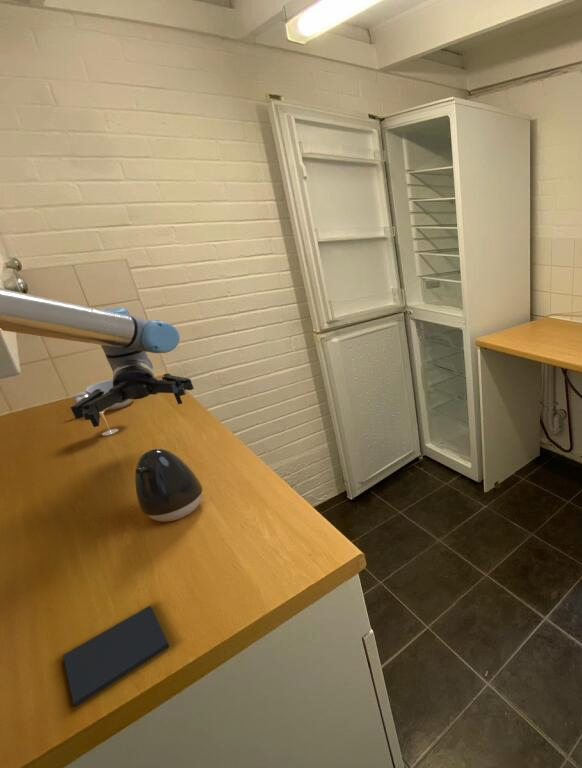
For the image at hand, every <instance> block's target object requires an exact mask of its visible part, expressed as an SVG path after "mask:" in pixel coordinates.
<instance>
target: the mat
mask: <svg viewBox="0 0 582 768" xmlns="http://www.w3.org/2000/svg"><path fill="white" fill-rule="evenodd" d="M168 648H170V644H169V642H168V640H167V637H166V635H165V633H164V631H163V629H162V627H161V625H160V623H159V620H158V618H157V616H156V614H155V612H154V610H153V608H152V606H151V605H149V606H146V607H145V608H143V609H142V610H140V611H138V612H136V613H134V614H132V615H131V616H129V617H127V618H125V619H124V620H122V621H120V622H119V623H116V624H115V625H113V626H112V627H110V628H108V629H106V630H105V631H102V632H101V633H99V634H97V635H96V636H94V637H92V638H90V639H89V640H87V641H85V642H83V643H82V644H80V645H78V646H76V647H74V648H73V649H71V650H69V651H67V652H66V653H64V654H62V658H63V663H64V667H65V671H66V677H67V683H68V687H69V691H70V696H71V700H72V704H73V705H74V707H75V708H76V707H77V706H79V705H81V704H82V703H84V702H86V701H87V700H89V699H90V698H91V697H94V696H95V695H96V694H98V693H99V692H101V691H103V690H104V689H106V688H108V687H109V686H110V685H112V684H114V683H115V682H117V681H118V680H120V679H121V678H123V677H124V676H126V675H127V674H129V673H131V672H133V671H134V670H135V669H137V668H139V667H140V666H142V665H143V664H145V663H147V662H148V661H150V660H151V659H153V658H154V657H156V656H157V655H159V654H161V653H162V652H163V651H166V650H167V649H168Z"/></svg>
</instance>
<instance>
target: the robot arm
mask: <svg viewBox="0 0 582 768" xmlns="http://www.w3.org/2000/svg"><path fill="white" fill-rule="evenodd" d="M0 328H1V329H2V330H3V331H2V330H1V331H2V332H10V333H16V334H22V335H23V334H24V335H31V336H38V337H44V338H51V339H58V340H65V341H71V342H78V343H85V344H92V345H100V346H101V349H102V350H103V352H104V355H105V357H106V360H107V362H108V364H109V367H110V369H111V371H112V379H113V387H112V388H111V389H110V390H109V391H105V392H103V390H101V389H96V390H94V391H93V393H92V394H91V395H89V396H88V397H86V398H84V399H83V400H81V401H80V402H78V403H75V404H74V405H72V406H71V407H70V410H71V412H72V414H73V416H74V418H75V419H82V418H84V419H85V421H88V420H89V421H90V422H91V425H92V426H93V428H96V427H100V420H101V416H100V414H99V412H101V411H103V410H105V409H107V408H108V407H110V406H112V405H114V404H116V403H123V402H124V401H126V400H128V399H133V400H142V399H144V398H147V397H148V396H150V395H158V394H173V395H174V398H175V400H176V402H177V405H181V404H183V401H182V396H186V394H187V393H186V391H192V390H194V389H195V388H194V387H195V386H194V385H193V382H192V380H191V378H188V377H183V376H177V375H172V374H170V373H164V374H162V375H163V376H162V375H161V378H158V379H157V378H156V377H155V373H154V371H153V369H154V368H153V364H152V363H153V362H151V360H150V358H149V356H148V354H147V353H151V354H167V353H170V352H172V351H174V350H175V349H176V348H177V347H178V346H179V344H180V333H179V331H178V329H177V328H176V326H174V325H173V324H171V323H170V322H166V321H161V320H157V319H154V320H151V319H146V318H141V317H137V316H132V315H131V314H130V311H129V310H128V309H126V307H111V308H104V309H100V308H94V307H90V306H85V305H81V304H75V303H71V302H66V301H62V300H57V299H53V298H52V299H51V298H47V297H43V296H38V295H34V294H28V293H24V292H20V291H14V290H9V289H5V288H2V287H1V288H0ZM121 397H122V398H121ZM105 411H106V410H105Z"/></svg>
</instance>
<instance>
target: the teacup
mask: <svg viewBox="0 0 582 768" xmlns="http://www.w3.org/2000/svg"><path fill="white" fill-rule="evenodd" d="M112 387H113V378H112V379H107V380H102V381H99V382H95V383H93V384H91V385H88V386H87V387H86V388H85V391H83V392H77V393H76V394H74V395H73V401H74V403H75V404H77V403H78V402H79V401H77V400H76V398H78V397H80V396H82V395H84V394H87V393H91V392H93V391H94V390H96V389H101V390H103V391H109V390H110V389H111V388H112ZM121 398H122V397H121ZM133 400H134V399H128V400H126V401H124V402H123V403H116V404H114V405H112V406H110V407H109V408H108V409H107V410H105V412H106V411H108V412H109V411H115V410H119V409H122V408H125V407H127V406H129V405H130V404H131V403H132V402H133Z"/></svg>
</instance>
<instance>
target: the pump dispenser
mask: <svg viewBox="0 0 582 768" xmlns="http://www.w3.org/2000/svg"><path fill="white" fill-rule="evenodd" d="M134 473H135V475H134V481H135V482H134V483H135V492H136V498H137V503H138V506H139V508H140V510H141V512H142V513H143V514H144V515H146V516H148V517H149V518H150V519H152V520H155V521H157V522H162V523H163V522H164V523H166V522H173V521H178V520H180V519H183V518H185V517H187V516H189V515H190V514H192V512H194V511H195V510H196V509H198V506H199V505H200V504H201V501H202V498H203V497H202V496H203V490H204V489H203V486H202V483H201V481H200V480H199V478H198V476H197V475H196V474H195V472H194V471H193V470H192V469H191V468H190V466H189V465H188V464H187V463H186V462H185V461H183V460H182V459H181V458H180V457H179V456H178V455H176V454H175V453H174V452H171V451H170V450H168V449H164V448H153V449H150V450H148V451H146V452H145V453H143V454H142V455H141V456H140V457H139V459H138V461H137V463H136V467H135V472H134Z"/></svg>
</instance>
